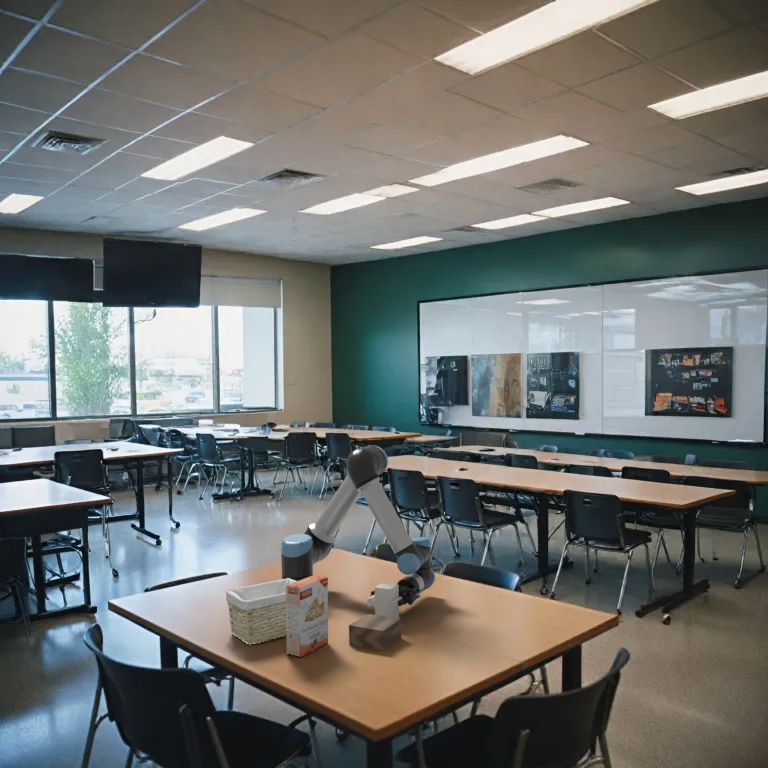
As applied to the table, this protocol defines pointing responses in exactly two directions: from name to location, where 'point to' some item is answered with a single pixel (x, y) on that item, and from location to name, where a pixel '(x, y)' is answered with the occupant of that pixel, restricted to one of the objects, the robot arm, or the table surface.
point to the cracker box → (306, 615)
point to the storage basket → (258, 610)
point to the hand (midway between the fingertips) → (380, 604)
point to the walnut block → (375, 631)
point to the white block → (386, 600)
